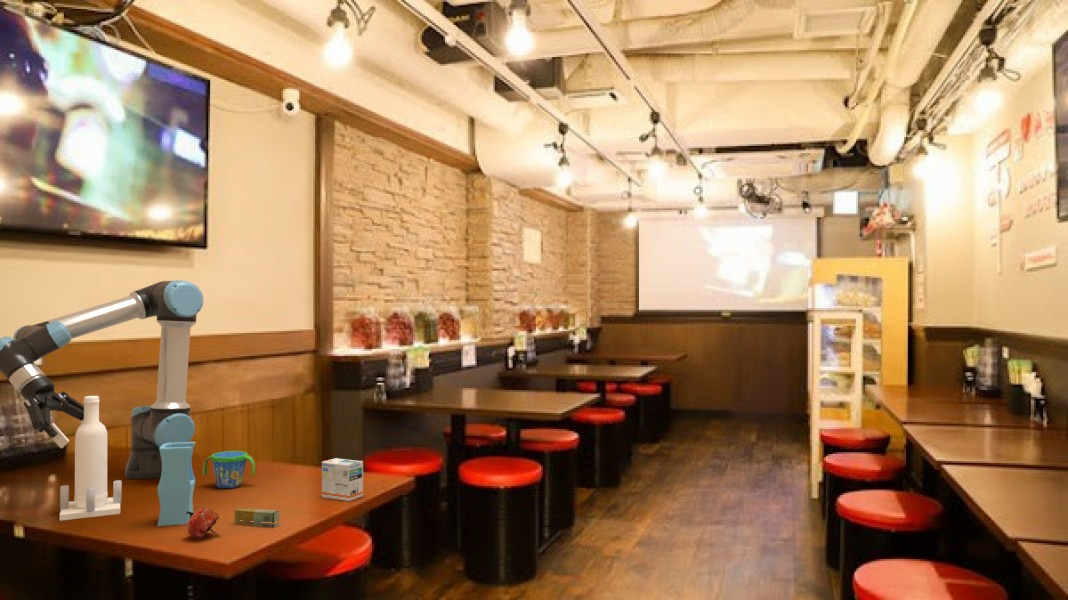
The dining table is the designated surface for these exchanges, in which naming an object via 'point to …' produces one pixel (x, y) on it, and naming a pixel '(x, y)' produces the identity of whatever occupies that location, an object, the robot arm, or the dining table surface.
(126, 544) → the dining table surface
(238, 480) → the snack cup
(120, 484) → the pin caddy
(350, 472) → the light bulb box
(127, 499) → the dining table surface
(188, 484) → the vase
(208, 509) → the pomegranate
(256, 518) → the medication box
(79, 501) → the bottle
